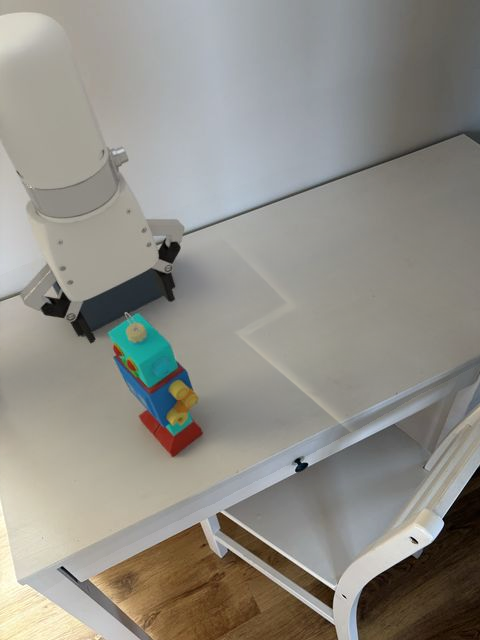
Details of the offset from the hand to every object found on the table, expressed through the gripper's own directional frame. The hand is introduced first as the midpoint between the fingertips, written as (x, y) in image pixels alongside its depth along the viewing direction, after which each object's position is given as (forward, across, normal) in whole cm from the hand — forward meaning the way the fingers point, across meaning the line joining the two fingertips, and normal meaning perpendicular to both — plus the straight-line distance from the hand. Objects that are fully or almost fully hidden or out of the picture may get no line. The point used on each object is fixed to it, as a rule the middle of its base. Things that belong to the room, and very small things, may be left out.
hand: (128, 313), depth 59 cm
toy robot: (+26, 0, 0) cm, 26 cm away
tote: (+25, -4, -30) cm, 40 cm away
